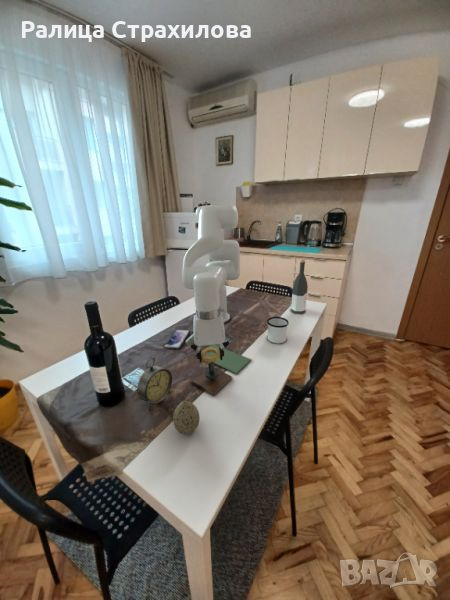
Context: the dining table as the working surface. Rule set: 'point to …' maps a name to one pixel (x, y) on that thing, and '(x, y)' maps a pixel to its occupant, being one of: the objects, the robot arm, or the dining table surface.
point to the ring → (213, 358)
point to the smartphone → (177, 339)
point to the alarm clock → (154, 384)
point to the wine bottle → (299, 291)
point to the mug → (277, 329)
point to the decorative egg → (186, 417)
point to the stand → (212, 379)
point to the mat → (229, 360)
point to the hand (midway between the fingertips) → (210, 358)
